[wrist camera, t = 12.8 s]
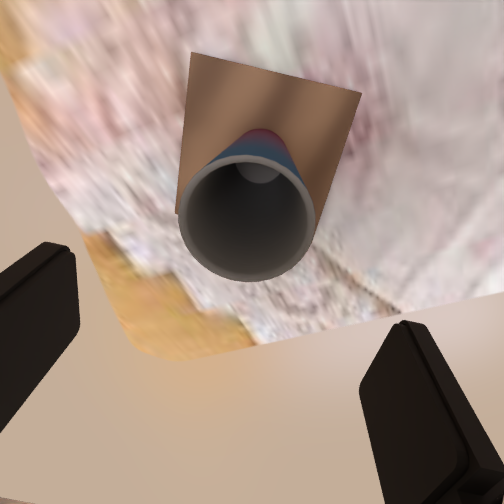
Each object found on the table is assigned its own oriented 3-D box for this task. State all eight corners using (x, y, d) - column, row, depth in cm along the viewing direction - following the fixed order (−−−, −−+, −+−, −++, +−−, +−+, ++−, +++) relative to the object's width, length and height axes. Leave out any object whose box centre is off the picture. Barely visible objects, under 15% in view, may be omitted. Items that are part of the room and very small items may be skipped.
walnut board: (358, 92, 27) (362, 93, 26) (310, 238, 34) (311, 243, 33) (194, 52, 27) (191, 51, 26) (177, 209, 34) (174, 213, 32)
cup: (302, 188, 30) (322, 274, 17) (231, 199, 31) (198, 289, 18) (292, 109, 27) (307, 141, 14) (214, 125, 28) (159, 169, 15)
